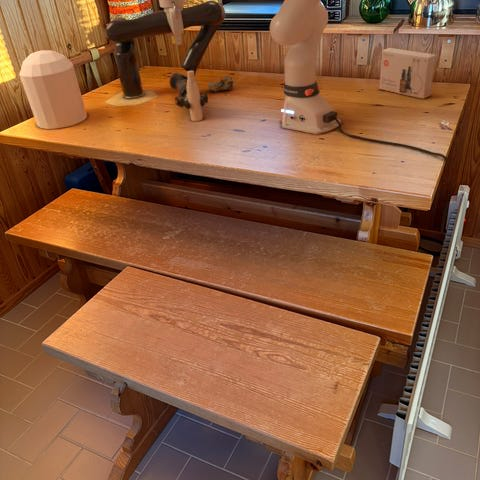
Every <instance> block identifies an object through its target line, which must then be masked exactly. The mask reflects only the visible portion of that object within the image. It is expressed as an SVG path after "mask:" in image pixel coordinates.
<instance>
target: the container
mask: <svg viewBox="0 0 480 480" xmlns="http://www.w3.org/2000/svg"><path fill="white" fill-rule="evenodd" d="M75 70H76V69H75V67H74V63H73V62H72V61H71V60H69V58H68V57H67V56H66V55H65V54H62V53H61V52H58V51H55V50H50V49H49V50H46V49H45V50H43V49H41V50H38V51H34V52H32V53H30V54H29V55H28V56H26V58H25V59H24V60H23V61H22V63H21V67H20V70H19V78H20V81H21V84H22V87H23V89H24V92H25V95H26V98H27V100H28V104H29V106H30V109H31V112H32V115H33V118H34V120H35V123H36V126H37V127H39V128H41V129H46V130H51V129H53V130H54V129H63V128H67V127H70V126H74V125H77V124H79V123H81V122H83V121H84V120H86V118H87V117H88V112H87V110H86V106H85V103H84V100H83V96H82V93H81V88H80V84H79V81H78V78H77V74H76V71H75Z"/></svg>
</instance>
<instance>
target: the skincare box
mask: <svg viewBox="0 0 480 480" xmlns="http://www.w3.org/2000/svg"><path fill="white" fill-rule="evenodd" d="M436 57H437V54H435V53H427V52H423V51H422V52H420V51H413V50H407V49H400V48H395V47H394V48H393V47H387V48H385V49H382V50H381V61H380V74H379V86H378V87H379V88H378V89H379V90H383V91H387V92H391V93H395V94H399V95H405V96H409V97H414V98H418V99H422V100H424V99H426V98H428V97H430V96H431V91H432V86H433V85H432V84H433V78H434V73H435V72H434V71H435V70H434V69H435V64H436Z"/></svg>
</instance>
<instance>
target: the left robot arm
mask: <svg viewBox="0 0 480 480" xmlns="http://www.w3.org/2000/svg"><path fill="white" fill-rule="evenodd" d="M182 8H183V10H182V11H181V15H182V22H183V29H184V30H185V29H188V28H191V27H197V26H200V29H199V30H198V33H197V34H196V35H195V37H194V39H193V41H192V42H191V44H190V45H189V47H188V49H187V50H186V53H185V55H184V57H183V59H182V61H181V68H182V69H183V70H184V71H186V72H187V71H194V77H195V78H196V74H197V70H198V68H199V66H200V64H201V63H202V60H203V58H204V55H205V53H206V51H207V48H208V47H209V44H210V43H211V41H212V39H213V37H214V35H215V34H216V32H217V31H218V29H219V28H220V27H221V25H222V23H223V22H224V21H225V19H226V10H225V7H224V6H223V5H222V4H221V3H219V2H218V1H215V0H209V1H204V2H202V3H199V4H195V5H192V6H188V7H182ZM105 33H106V37H107V38H108V39H109V40H110V41H111V42H113V43H114V52H113V53H114V54H113V55H114V59H115V64H116V67H117V77H119V83H120V87H121V91H122V96H123V98H124V99H127V100H128V99H129V100H131V99H137V98H138V99H139V98H141V97H143V96H144V90H143V85H144V84H143V82H142V79H141V73H140V70H139V65H138V59H137V55H136V41H135V39H138V38H145V37H157V36H163V35H171V34H173V32H172V29H171V27H170V25H169V22H168V19H167V15H166V12H164V9H163V10H158V11H153V12H150V13H147V14H144V15H142V16H139V17H136V18H132V19H127V18H125V17H122V16H121V17H116V18H114V19H113V20H111V21H109V22H108V24H107V25H106V28H105ZM187 80H188V77H187V75H185V74H182V73H180V72H173V73H172V74H171V76H170V77H169V86H170V87H171V89H173V90H174V91H175V92H177V93H178V95H179V96H176V97H174V103H175V105H176V106H178V107H179V108H183V107H185V109H187V110H189V109H190V104H189V102H188V97H187V90H186V86H187ZM200 100H201V107H202V108H204V107H205V106H206V104H209V94H208V92H207V91H206V92H204V93H203V94H202V93H200Z"/></svg>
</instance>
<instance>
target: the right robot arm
mask: <svg viewBox="0 0 480 480" xmlns="http://www.w3.org/2000/svg"><path fill="white" fill-rule="evenodd" d="M321 1H322V0H284V1H283V3H282V4H281V7H280V8H279V10H278V11H277V13H276V14H275V15H274V16H273V17H272V19H271V21H270V24H269V34H270V37H271V39H272V41H273V42H274V43H275V44H277V45H279V46H282V47H283V46H284V47H285V46H289V48H288V52H287V54H286V56H285V58H284V62H283V67H284V68H283V69H284V82H283V89H282V90H283V94H284V103H283V108H282V109H281V113H282V116H281V120H280V121H281V128H282V129H288V130H292V131H298V132H303V133H309V134H313V135H314V134H315V135H319V134H324V133H328V132H331V131H332V130H335V129H337V128H338V131H339V132H340V133H341V134H343V135H345V136H347V137H349V138H355V139H359V140H364V141H368V142H373V143H374V142H375V143H378V144H379V143H380V144H385V145H393V146H398V147H403V148H408V149H412V150H416V151H419V152H422V153H426V154H428V155H432V156H439V157H441V158H442V159H443V160H444V161H445V163H450V160H449V159H448V157H447V156H446V155H444V154H443V153H440V152H434V151H430V150H427V149H425V148H420V147H418V146H413V145H409V144H405V143H404V144H403V143H400V142H399V143H398V142H393V141H385V140H381V139H376V138H375V139H374V138H368V137H364V136H359V135H355V134H348V133H345V132H344V131H343V130H342V127H341V126H342V125H341V124H342V120H341V119H340V118H338V111H335V110H334V109H335V108H334V106H333V105H332V104H331V103H330V102H329V101H328V100H327V99H326V98H325V97H324V96H323V95H322V94H321V93H320V90H321V89H322V86H323V85H322V84H320V85H319V84H318V81H317V58H318V52H319V48H320V43H321V40H322V36H323V33H324V31H325V29H326V27H327V25H328V21H329V13H328V10H327V8H326V7H325V5H323V4H322V3H321ZM158 3H159V7H160V8H163V10H164V12H166V15H167V19H168V22H169V25H170V27H171V29H172V32H173V33H172V34H173V35H175V39H176V44H175V45H177V46H181V45H182V43H181V35H183V34H184V31H185V29H183V22H182V15H181V11H182V10H183V8H184V7H183V6H185V5H186V0H158ZM449 201H450V200H448V201H446V202H445V206H444V211H443V215H442V221H441V225H440V235H443V233H444V228H445V223H446V217H447V213H448V208H449V203H450V202H449Z"/></svg>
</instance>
